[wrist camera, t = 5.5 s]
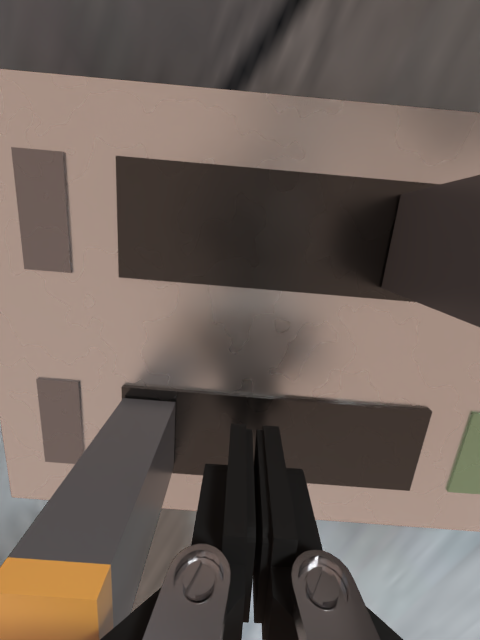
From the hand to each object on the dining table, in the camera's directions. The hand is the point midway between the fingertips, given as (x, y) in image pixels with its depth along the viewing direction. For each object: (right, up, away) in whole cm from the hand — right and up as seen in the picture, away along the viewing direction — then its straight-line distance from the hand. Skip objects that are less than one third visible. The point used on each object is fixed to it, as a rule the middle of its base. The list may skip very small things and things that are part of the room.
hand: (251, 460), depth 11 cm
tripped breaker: (-4, 0, +2) cm, 4 cm away
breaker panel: (+1, +5, +3) cm, 6 cm away
